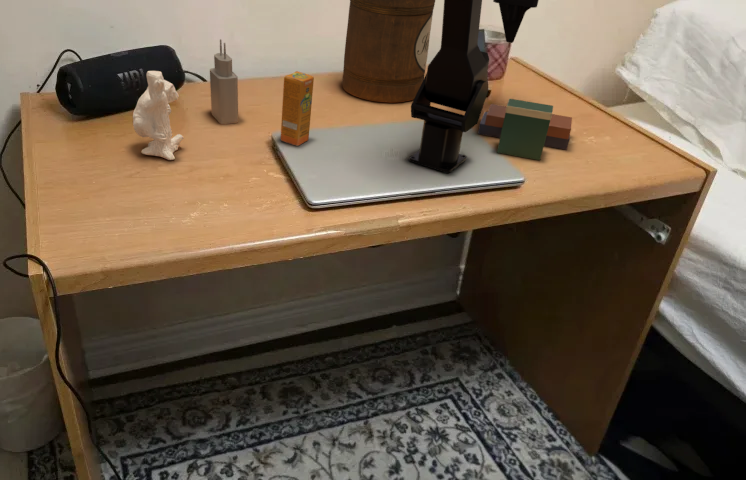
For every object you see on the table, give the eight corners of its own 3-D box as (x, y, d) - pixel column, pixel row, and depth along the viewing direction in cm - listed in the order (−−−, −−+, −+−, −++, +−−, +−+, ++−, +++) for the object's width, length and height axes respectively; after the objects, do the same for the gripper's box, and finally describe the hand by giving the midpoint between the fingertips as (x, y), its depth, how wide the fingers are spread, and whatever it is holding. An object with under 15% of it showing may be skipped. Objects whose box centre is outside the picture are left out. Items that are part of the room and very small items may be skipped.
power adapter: (220, 124, 103) (218, 46, 97) (210, 112, 107) (207, 36, 101) (239, 122, 105) (238, 45, 98) (228, 110, 109) (226, 35, 102)
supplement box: (299, 147, 98) (301, 80, 93) (280, 141, 100) (281, 75, 94) (311, 140, 101) (314, 75, 95) (292, 134, 102) (294, 69, 96)
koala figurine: (188, 162, 91) (182, 77, 85) (137, 166, 90) (128, 78, 83) (181, 138, 98) (176, 57, 91) (134, 141, 96) (125, 58, 90)
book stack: (482, 121, 112) (486, 101, 110) (567, 136, 109) (573, 116, 107) (477, 134, 107) (481, 113, 105) (566, 150, 104) (572, 129, 102)
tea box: (504, 121, 105) (510, 90, 98) (546, 128, 104) (555, 97, 97) (495, 159, 103) (500, 130, 96) (538, 167, 102) (546, 138, 94)
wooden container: (434, 102, 118) (454, -31, 106) (355, 104, 115) (367, -33, 102) (405, 75, 130) (420, -47, 118) (332, 77, 126) (341, -49, 114)
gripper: (589, -52, 88) (559, 65, 97) (589, -68, 103) (563, 35, 111) (504, -62, 90) (483, 54, 99) (516, -75, 105) (497, 26, 114)
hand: (509, 42), depth 106 cm, fingers closed
